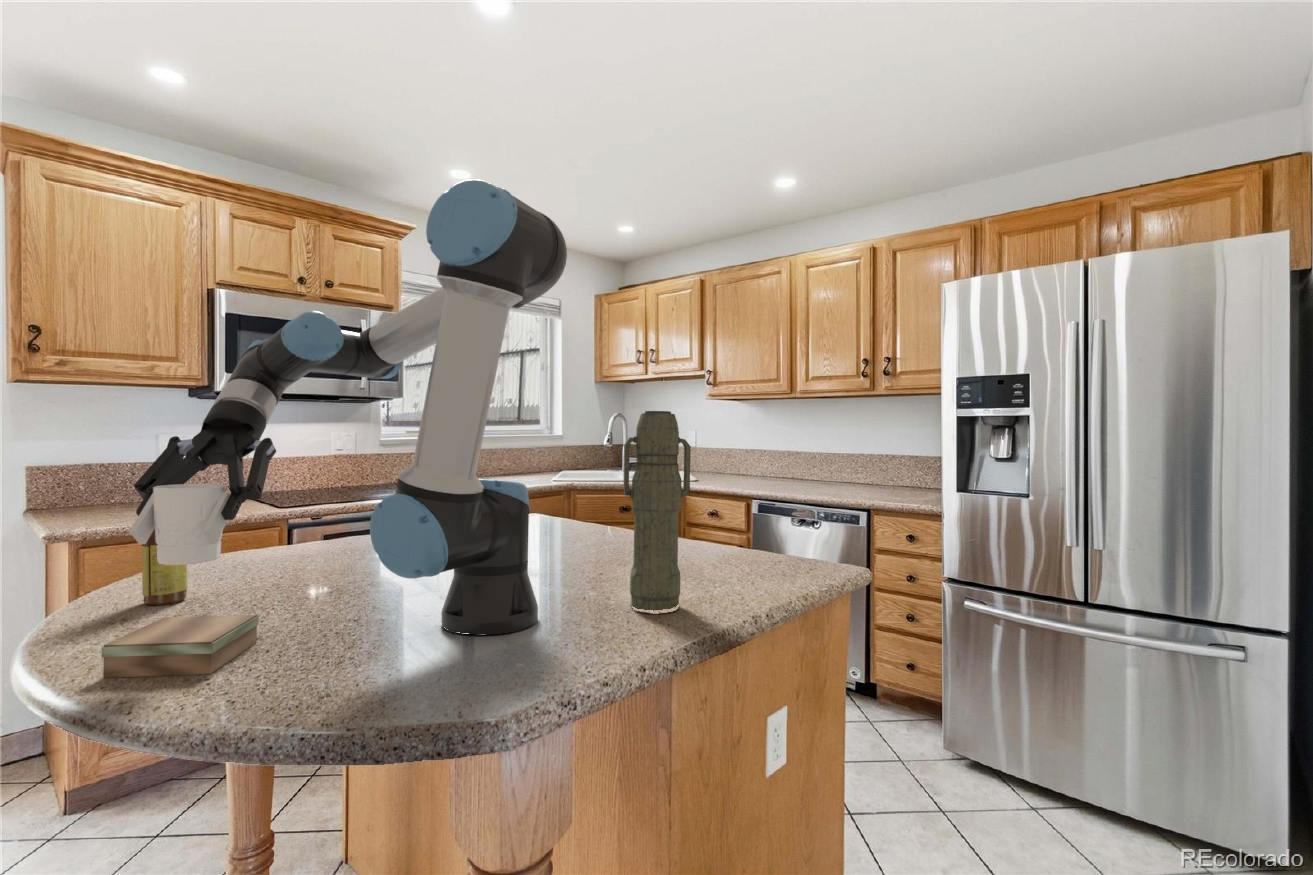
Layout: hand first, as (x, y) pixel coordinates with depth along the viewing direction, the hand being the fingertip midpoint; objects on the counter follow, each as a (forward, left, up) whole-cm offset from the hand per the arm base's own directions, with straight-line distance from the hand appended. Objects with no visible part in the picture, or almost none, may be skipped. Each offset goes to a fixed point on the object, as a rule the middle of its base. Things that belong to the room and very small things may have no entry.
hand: (173, 537), depth 81 cm
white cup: (0, -3, -4) cm, 5 cm away
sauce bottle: (+20, -34, -17) cm, 43 cm away
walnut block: (0, -3, -17) cm, 17 cm away
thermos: (-66, -22, -17) cm, 72 cm away
